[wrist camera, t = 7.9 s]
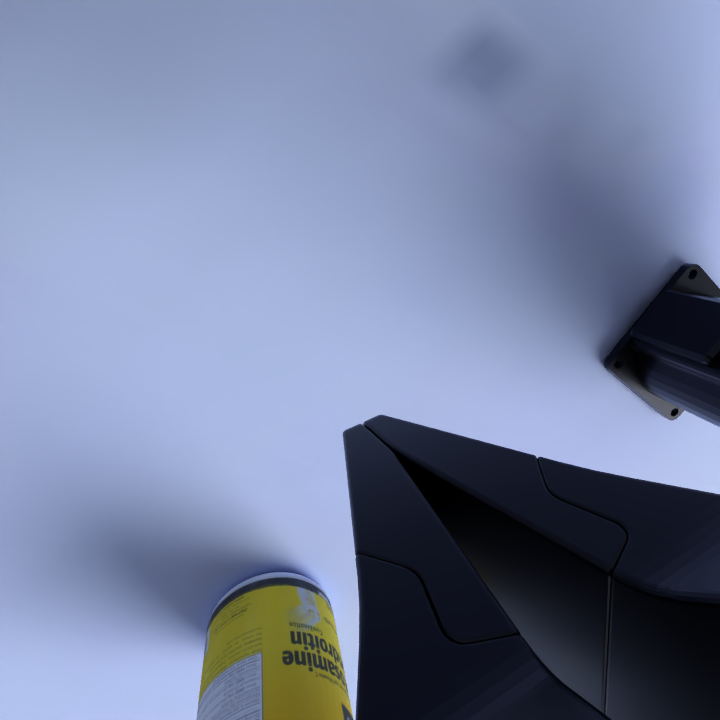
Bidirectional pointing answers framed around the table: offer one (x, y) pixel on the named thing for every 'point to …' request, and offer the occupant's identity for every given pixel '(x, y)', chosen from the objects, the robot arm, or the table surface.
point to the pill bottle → (273, 654)
